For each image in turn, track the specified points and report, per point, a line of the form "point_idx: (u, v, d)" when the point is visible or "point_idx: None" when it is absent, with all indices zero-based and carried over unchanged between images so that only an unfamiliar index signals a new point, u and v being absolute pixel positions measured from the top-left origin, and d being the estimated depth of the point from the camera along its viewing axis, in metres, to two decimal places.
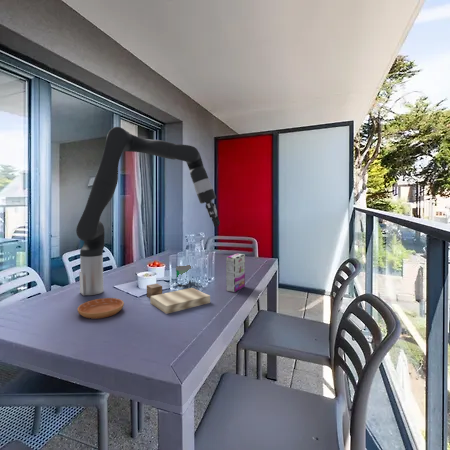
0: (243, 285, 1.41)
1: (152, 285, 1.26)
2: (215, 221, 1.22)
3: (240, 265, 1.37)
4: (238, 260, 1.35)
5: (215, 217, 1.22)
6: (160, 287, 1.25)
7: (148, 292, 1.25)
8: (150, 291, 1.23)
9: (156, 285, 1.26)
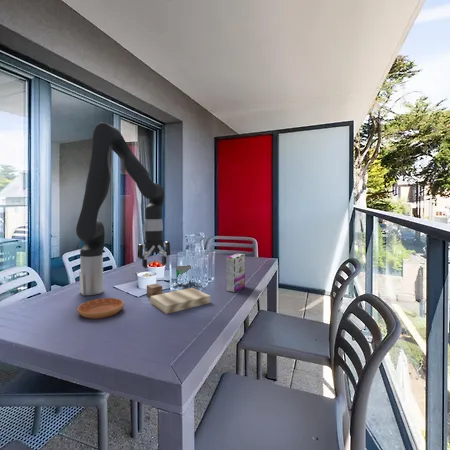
0: (243, 285, 1.41)
1: (152, 285, 1.26)
2: (143, 263, 1.22)
3: (240, 265, 1.37)
4: (238, 260, 1.35)
5: (144, 259, 1.21)
6: (160, 287, 1.25)
7: (148, 292, 1.25)
8: (150, 291, 1.23)
9: (156, 285, 1.26)
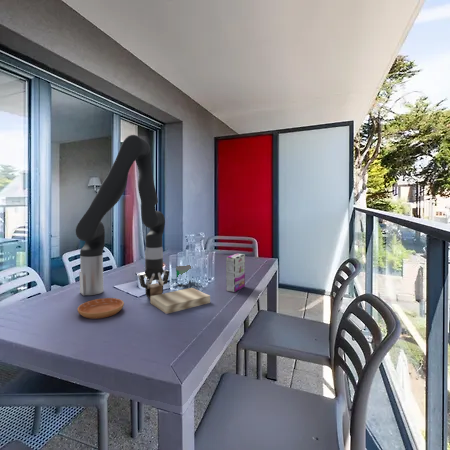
0: (243, 285, 1.41)
1: (152, 285, 1.26)
2: (146, 292, 1.24)
3: (240, 265, 1.37)
4: (238, 260, 1.35)
5: None
6: (160, 287, 1.25)
7: None
8: (150, 291, 1.23)
9: (156, 285, 1.26)
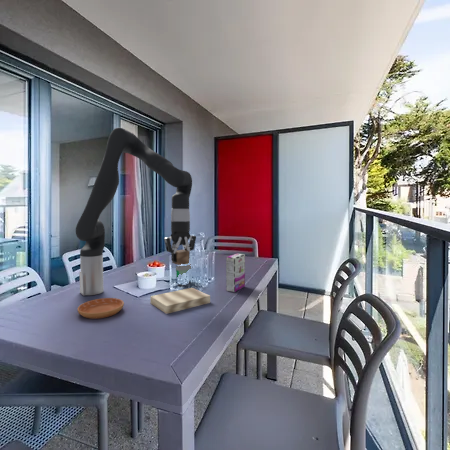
0: (243, 285, 1.41)
1: (178, 250, 1.17)
2: (172, 257, 1.15)
3: (240, 265, 1.37)
4: (238, 260, 1.35)
5: None
6: (187, 252, 1.16)
7: None
8: (177, 256, 1.14)
9: (182, 250, 1.17)
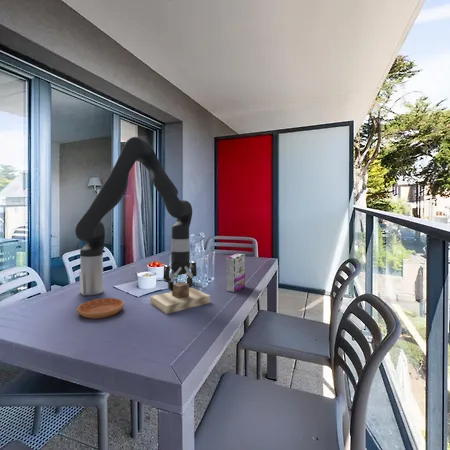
0: (243, 285, 1.41)
1: (178, 283, 1.18)
2: (169, 285, 1.14)
3: (240, 265, 1.37)
4: (238, 260, 1.35)
5: (170, 281, 1.14)
6: (187, 285, 1.17)
7: (174, 291, 1.17)
8: (177, 290, 1.15)
9: (182, 283, 1.18)
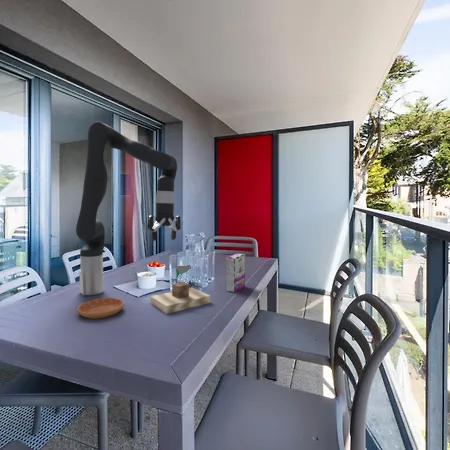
0: (243, 285, 1.41)
1: (178, 283, 1.18)
2: (152, 235, 1.19)
3: (240, 265, 1.37)
4: (238, 260, 1.35)
5: None
6: (187, 285, 1.17)
7: (174, 291, 1.17)
8: (177, 290, 1.15)
9: (182, 283, 1.18)
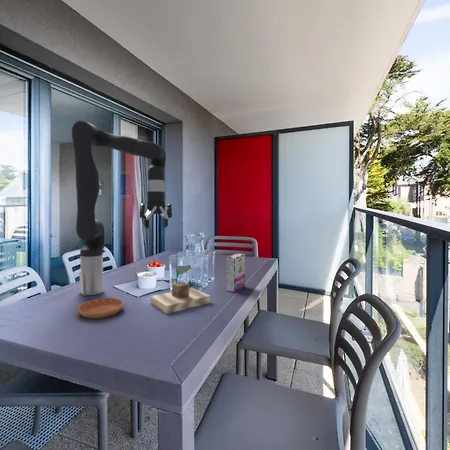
0: (243, 285, 1.41)
1: (178, 283, 1.18)
2: (144, 223, 1.23)
3: (240, 265, 1.37)
4: (238, 260, 1.35)
5: None
6: (187, 285, 1.17)
7: (174, 291, 1.17)
8: (177, 290, 1.15)
9: (182, 283, 1.18)
